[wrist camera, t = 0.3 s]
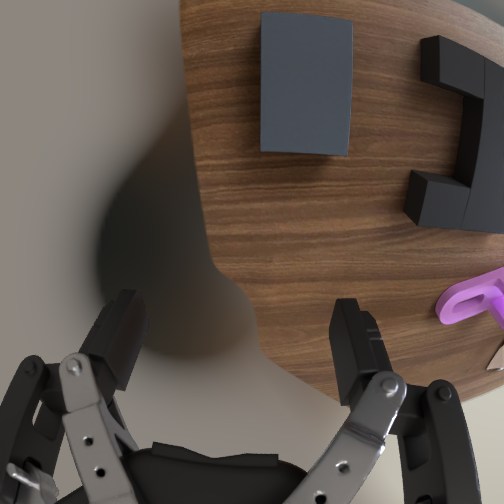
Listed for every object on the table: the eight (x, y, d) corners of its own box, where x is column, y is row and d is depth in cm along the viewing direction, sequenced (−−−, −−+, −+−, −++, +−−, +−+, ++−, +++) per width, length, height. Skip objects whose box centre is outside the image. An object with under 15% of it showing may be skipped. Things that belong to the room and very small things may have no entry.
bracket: (510, 264, 25) (538, 296, 19) (501, 295, 28) (524, 327, 22) (438, 289, 27) (465, 331, 21) (432, 321, 30) (452, 362, 24)
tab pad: (260, 144, 21) (259, 151, 18) (261, 22, 15) (260, 11, 13) (337, 148, 20) (347, 156, 18) (341, 29, 15) (352, 20, 13)
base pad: (420, 38, 14) (439, 34, 12) (519, 87, 14) (538, 91, 11) (403, 211, 23) (417, 226, 20) (497, 222, 22) (512, 235, 20)
